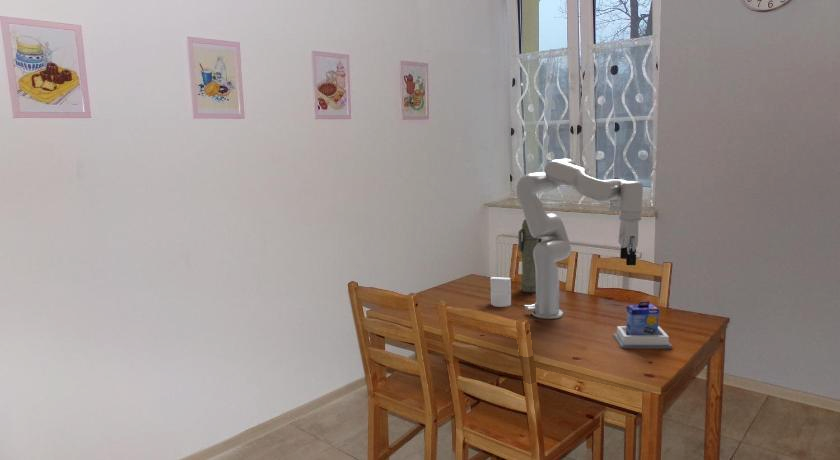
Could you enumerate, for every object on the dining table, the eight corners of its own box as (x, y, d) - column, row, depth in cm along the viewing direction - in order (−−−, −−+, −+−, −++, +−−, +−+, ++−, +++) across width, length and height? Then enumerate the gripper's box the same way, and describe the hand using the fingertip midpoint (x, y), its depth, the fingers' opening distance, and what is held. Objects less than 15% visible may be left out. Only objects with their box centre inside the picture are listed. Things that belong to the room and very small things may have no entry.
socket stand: (621, 348, 199) (621, 337, 199) (613, 335, 212) (613, 325, 211) (672, 348, 197) (672, 337, 197) (661, 335, 210) (661, 325, 209)
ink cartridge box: (631, 342, 202) (632, 303, 199) (625, 337, 207) (625, 298, 205) (658, 341, 202) (659, 301, 200) (651, 336, 207) (652, 297, 205)
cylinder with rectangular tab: (488, 306, 255) (488, 280, 253) (493, 300, 263) (493, 275, 261) (508, 307, 252) (508, 281, 250) (513, 301, 260) (512, 276, 258)
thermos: (546, 290, 277) (545, 219, 271) (526, 293, 272) (525, 221, 266) (535, 286, 285) (534, 217, 279) (515, 289, 280) (514, 219, 274)
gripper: (614, 211, 214) (612, 256, 217) (624, 219, 197) (622, 267, 200) (635, 211, 213) (632, 256, 216) (647, 219, 196) (644, 267, 199)
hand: (627, 261), depth 208 cm, fingers open, 9 cm apart
